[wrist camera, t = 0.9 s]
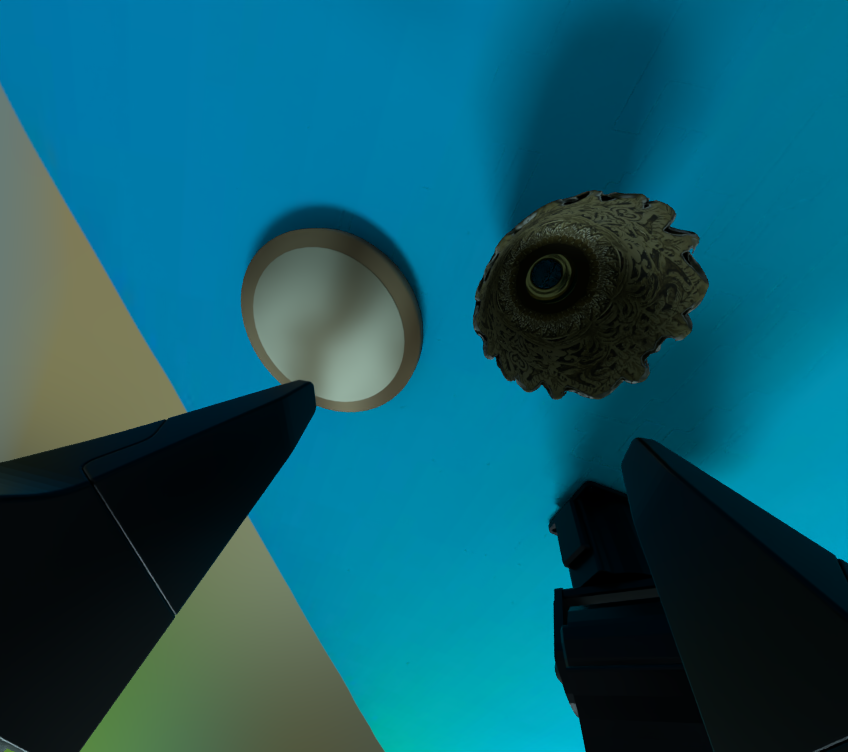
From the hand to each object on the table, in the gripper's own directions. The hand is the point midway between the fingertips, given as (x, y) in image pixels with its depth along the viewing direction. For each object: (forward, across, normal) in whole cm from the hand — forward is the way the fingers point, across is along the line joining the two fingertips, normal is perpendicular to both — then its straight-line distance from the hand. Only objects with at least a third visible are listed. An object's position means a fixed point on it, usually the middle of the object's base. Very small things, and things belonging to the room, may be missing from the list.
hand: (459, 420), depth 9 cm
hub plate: (+12, +10, +3) cm, 16 cm away
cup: (+12, -4, -2) cm, 13 cm away
